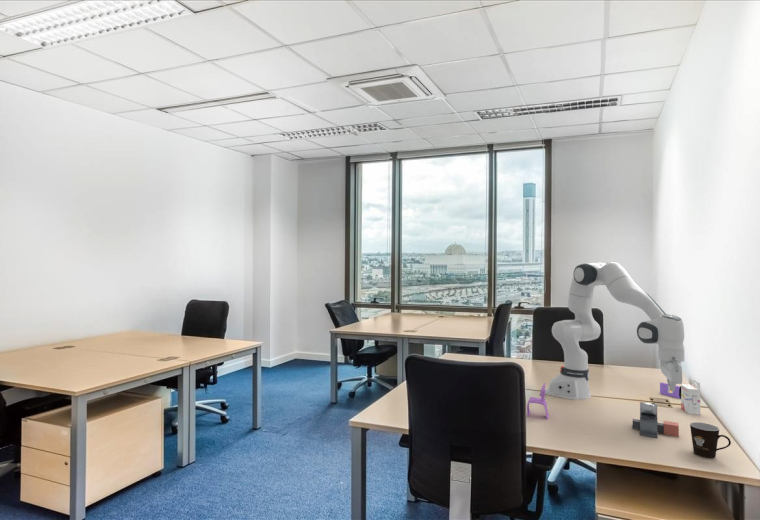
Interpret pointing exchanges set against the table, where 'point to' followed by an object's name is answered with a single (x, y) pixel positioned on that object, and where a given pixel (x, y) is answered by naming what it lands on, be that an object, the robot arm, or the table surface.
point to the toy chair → (539, 401)
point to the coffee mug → (705, 439)
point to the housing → (648, 420)
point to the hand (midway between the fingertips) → (671, 390)
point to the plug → (662, 427)
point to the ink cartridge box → (691, 398)
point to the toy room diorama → (666, 391)
